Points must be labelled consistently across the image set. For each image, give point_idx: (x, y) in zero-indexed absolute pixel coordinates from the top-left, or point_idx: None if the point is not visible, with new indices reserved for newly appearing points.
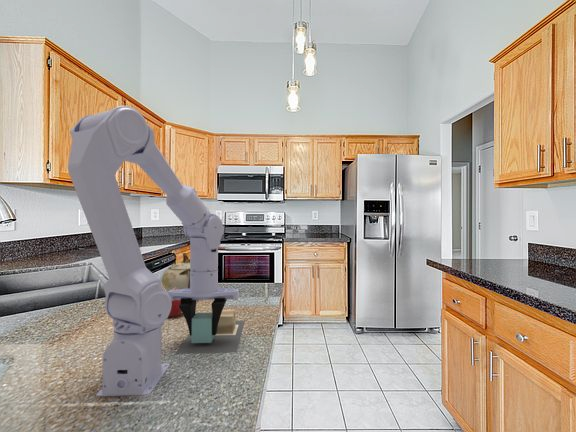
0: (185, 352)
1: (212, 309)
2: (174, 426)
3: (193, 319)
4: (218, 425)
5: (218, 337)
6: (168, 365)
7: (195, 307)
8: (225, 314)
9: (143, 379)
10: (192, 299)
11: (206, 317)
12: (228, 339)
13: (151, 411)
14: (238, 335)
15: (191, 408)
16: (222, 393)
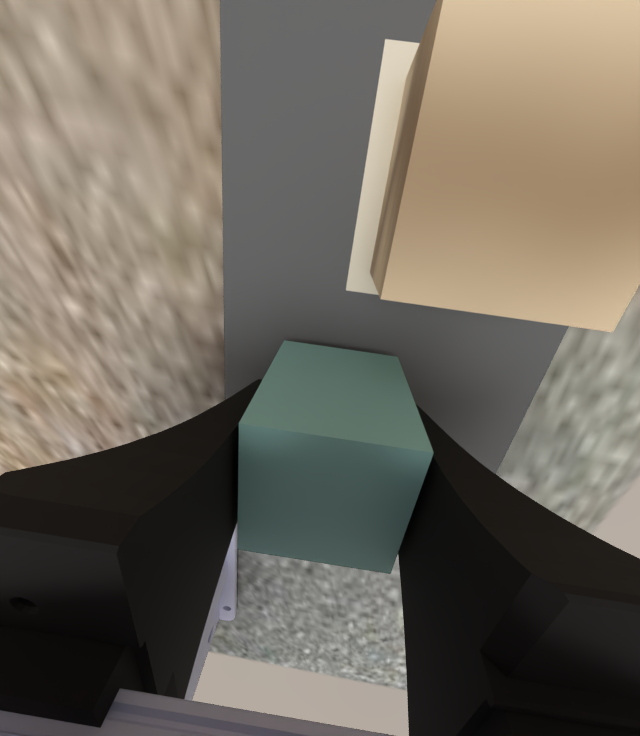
0: None
1: (412, 686)
2: (312, 670)
3: (252, 548)
4: (386, 684)
5: (417, 336)
6: (233, 535)
7: (205, 479)
8: (553, 253)
9: (206, 654)
10: (130, 716)
11: (350, 548)
12: (472, 373)
13: (259, 639)
14: (549, 328)
15: (334, 649)
16: (399, 633)
